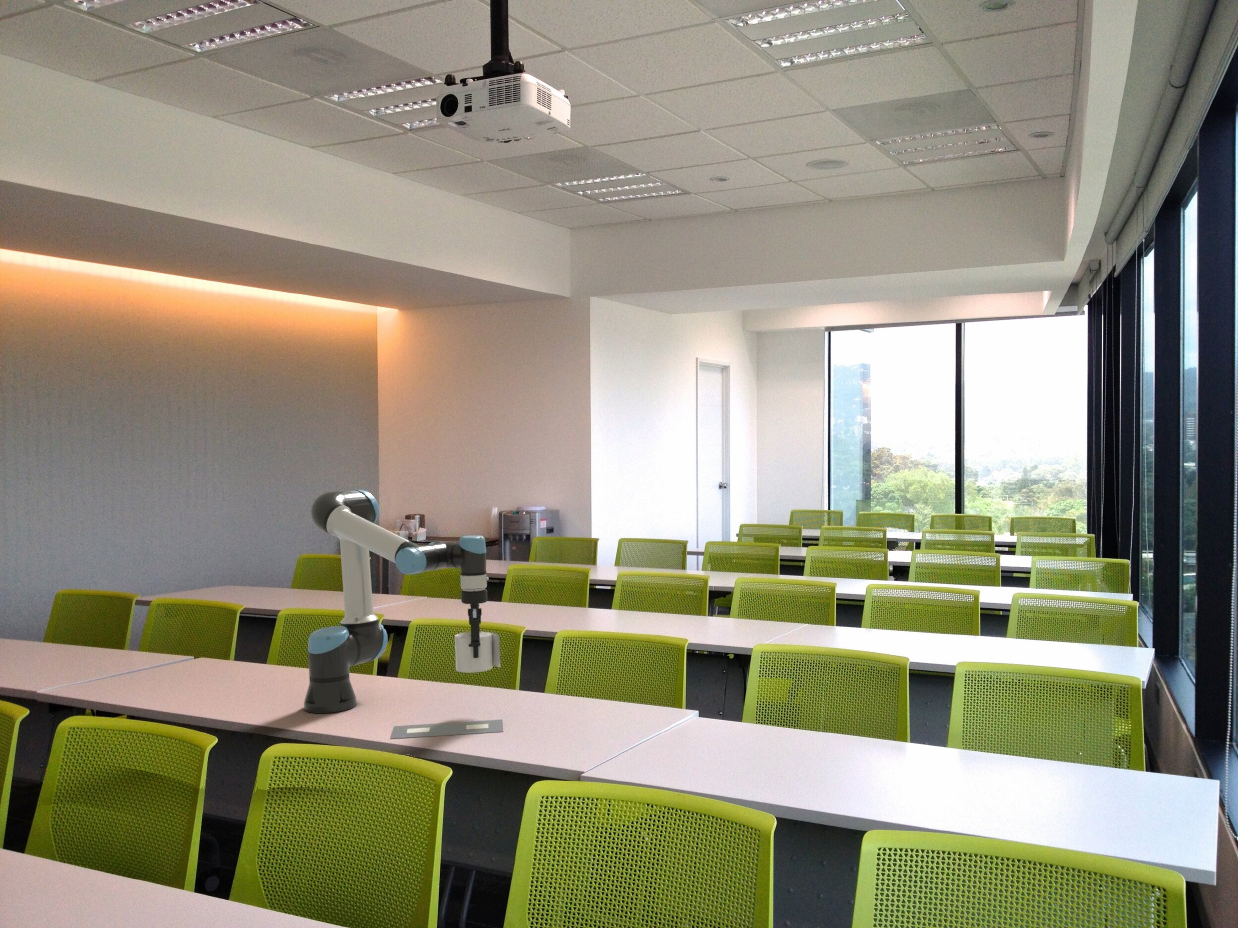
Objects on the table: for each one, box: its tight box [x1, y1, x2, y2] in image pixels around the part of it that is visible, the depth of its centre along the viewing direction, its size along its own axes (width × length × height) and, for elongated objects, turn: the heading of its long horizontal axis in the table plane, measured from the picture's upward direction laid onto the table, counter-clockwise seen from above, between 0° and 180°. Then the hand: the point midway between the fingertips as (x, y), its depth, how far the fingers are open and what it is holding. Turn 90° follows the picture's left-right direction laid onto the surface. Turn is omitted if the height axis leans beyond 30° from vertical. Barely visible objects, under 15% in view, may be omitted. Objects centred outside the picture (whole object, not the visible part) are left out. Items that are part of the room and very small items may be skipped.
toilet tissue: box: [454, 631, 501, 674], centre depth 292 cm, size 11×12×10 cm
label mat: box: [389, 719, 504, 740], centre depth 275 cm, size 30×12×1 cm, turn 98°
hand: (476, 664), depth 291 cm, fingers closed on toilet tissue, 11 cm apart
